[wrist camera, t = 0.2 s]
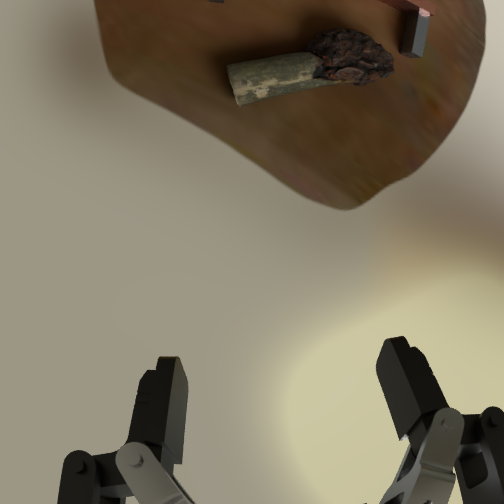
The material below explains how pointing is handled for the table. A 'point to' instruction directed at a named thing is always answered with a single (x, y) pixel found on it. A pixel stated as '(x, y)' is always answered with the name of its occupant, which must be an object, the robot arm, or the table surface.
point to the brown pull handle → (409, 24)
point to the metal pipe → (312, 66)
